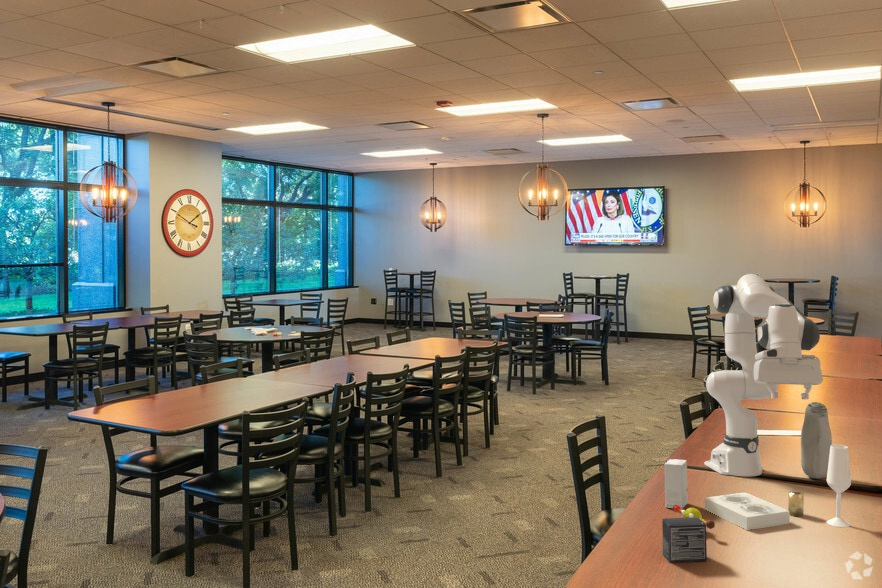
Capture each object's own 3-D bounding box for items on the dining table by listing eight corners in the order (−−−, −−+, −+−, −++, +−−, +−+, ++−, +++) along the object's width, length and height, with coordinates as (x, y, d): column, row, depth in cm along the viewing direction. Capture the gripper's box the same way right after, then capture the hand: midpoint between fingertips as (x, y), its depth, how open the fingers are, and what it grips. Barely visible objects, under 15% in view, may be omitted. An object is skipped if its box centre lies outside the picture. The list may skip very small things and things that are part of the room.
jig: (704, 509, 251) (704, 497, 251) (745, 504, 256) (745, 492, 256) (746, 530, 232) (746, 517, 232) (789, 523, 237) (789, 511, 237)
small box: (698, 552, 216) (698, 516, 215) (707, 562, 209) (707, 524, 209) (661, 553, 215) (661, 517, 215) (669, 563, 209) (669, 525, 208)
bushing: (785, 513, 246) (785, 491, 246) (796, 511, 248) (796, 490, 247) (795, 517, 242) (795, 495, 242) (806, 515, 244) (806, 494, 243)
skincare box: (682, 510, 251) (682, 465, 250) (663, 507, 254) (663, 463, 253) (688, 503, 258) (688, 459, 257) (669, 500, 261) (669, 457, 260)
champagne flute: (829, 518, 241) (829, 442, 240) (852, 522, 237) (853, 445, 236) (823, 524, 236) (824, 447, 235) (848, 528, 232) (848, 450, 230)
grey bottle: (834, 482, 278) (835, 405, 276) (804, 481, 280) (805, 405, 278) (826, 474, 287) (827, 400, 286) (797, 473, 290) (798, 399, 288)
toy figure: (666, 521, 240) (666, 500, 240) (680, 519, 242) (680, 498, 242) (704, 541, 224) (704, 518, 223) (720, 538, 226) (720, 516, 225)
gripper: (814, 356, 242) (818, 400, 238) (749, 355, 242) (753, 398, 238) (824, 353, 236) (828, 398, 232) (758, 351, 236) (761, 396, 232)
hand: (789, 398), depth 235 cm, fingers open, 8 cm apart
